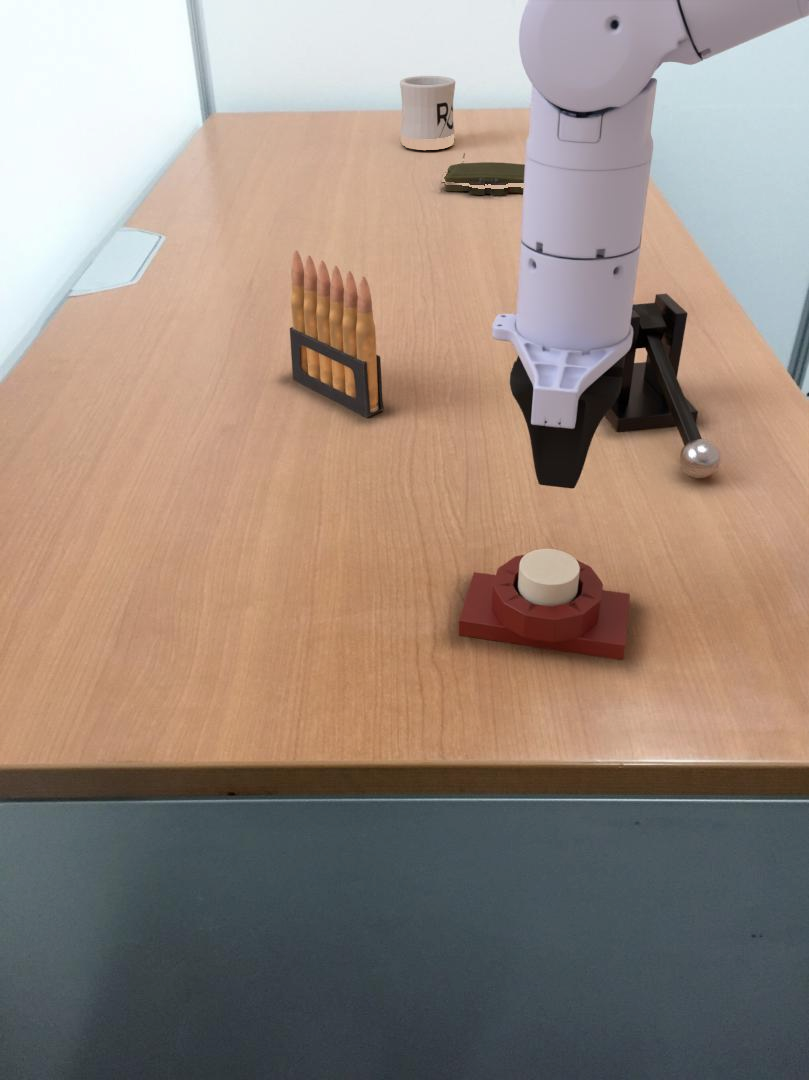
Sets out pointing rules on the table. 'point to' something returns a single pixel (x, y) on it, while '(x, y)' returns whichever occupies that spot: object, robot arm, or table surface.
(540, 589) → the button
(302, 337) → the ammunition clip
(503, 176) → the landmine
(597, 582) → the block
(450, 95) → the mug
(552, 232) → the robot arm
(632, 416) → the black pivot stand
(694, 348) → the table surface
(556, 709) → the table surface
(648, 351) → the lever
